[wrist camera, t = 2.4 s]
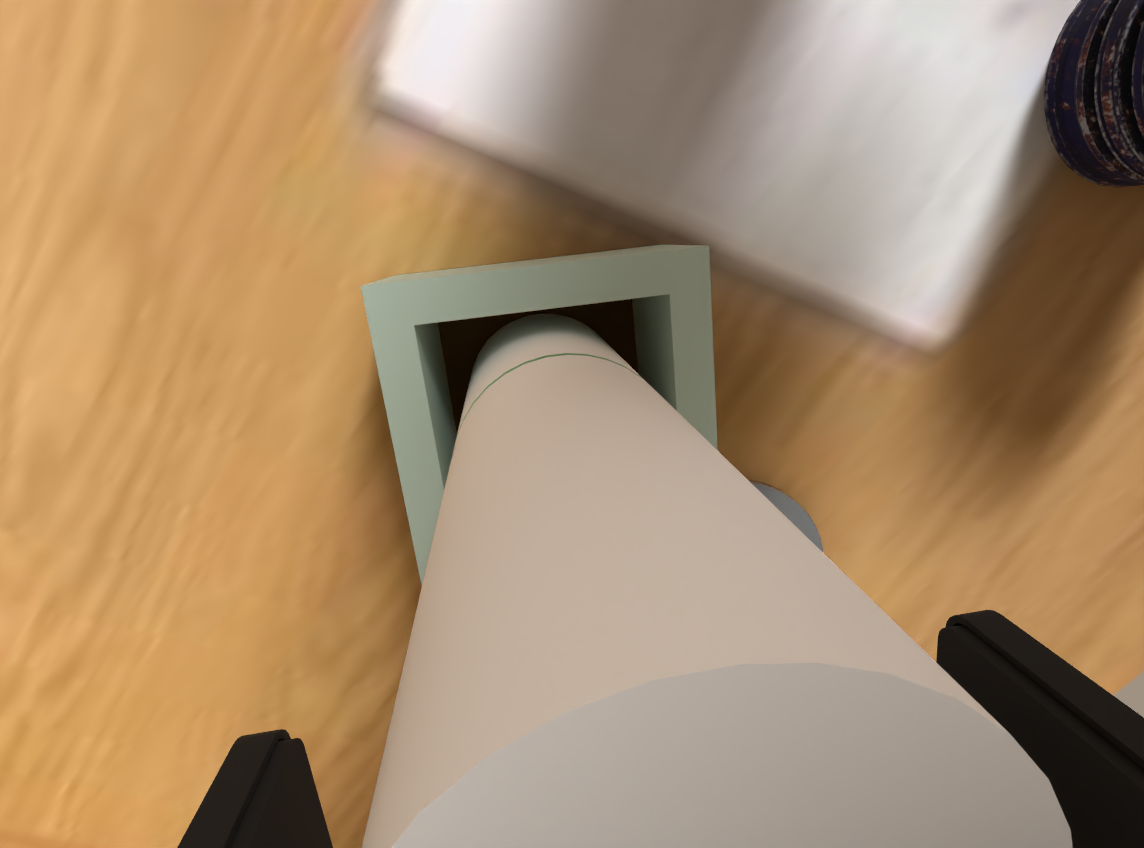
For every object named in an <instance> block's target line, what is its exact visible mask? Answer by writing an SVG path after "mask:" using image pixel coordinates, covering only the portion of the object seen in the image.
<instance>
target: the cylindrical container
mask: <svg viewBox="0 0 1144 848" xmlns="http://www.w3.org/2000/svg"><path fill="white" fill-rule="evenodd" d="M362 848H1073V846H1072V837H1071V830H1070V827H1069V825H1068V823H1067V820H1066V818H1065V816H1064V813H1063V811H1062V809H1061V806H1060V804H1059V802H1058V799H1057V797H1056V795H1055V792H1054V790H1053V788H1052V785H1051V783H1050V781H1049V779H1048V778H1047V776H1046V775H1045V774H1044V773H1043V772H1042V771H1041V769H1040V768H1039V767H1038V766H1037V765H1036V764H1035V762H1034V761H1033V760H1032V759H1031V758H1030V757H1029V755H1028V754H1027V753H1026V752H1025V751H1024V750H1023V748H1022V747H1021V746H1020V745H1019V744H1018V743H1017V741H1016V740H1015V739H1014V738H1013V737H1012V736H1011V734H1010V733H1009V732H1008V731H1007V730H1006V729H1005V728H1004V727H1002V726H1001V725H1000V724H999V723H998V722H997V721H996V720H995V719H994V718H993V717H992V716H991V715H990V714H989V713H988V712H987V711H986V710H985V709H984V708H983V707H982V706H981V705H980V704H979V703H978V702H977V701H976V700H975V699H974V698H973V697H972V696H970V695H969V694H968V693H967V692H966V691H965V690H964V689H963V688H962V687H961V686H960V685H959V684H958V683H957V682H956V681H955V680H954V679H953V678H952V677H951V676H950V675H949V674H948V673H947V672H946V671H945V670H944V669H943V668H942V667H941V666H940V665H938V664H937V663H936V662H935V661H934V660H933V659H932V658H931V657H930V656H929V655H928V654H927V653H926V652H925V651H924V650H923V649H922V648H921V647H920V646H919V645H918V644H917V643H916V642H915V641H914V640H913V639H912V638H911V637H910V636H909V635H907V634H906V633H905V632H904V631H903V630H902V629H901V628H900V627H899V626H898V625H897V624H896V623H895V622H894V621H893V620H892V619H891V618H890V617H889V616H888V615H887V614H886V613H885V612H884V611H883V610H882V609H881V608H880V607H879V606H878V605H877V604H875V603H874V602H873V601H872V600H871V599H870V598H869V597H868V596H867V595H866V594H865V593H864V592H863V591H862V590H861V589H860V588H859V587H858V586H857V585H856V584H855V583H854V582H853V581H852V580H851V579H850V578H849V577H848V576H847V575H846V574H845V573H843V572H842V571H841V570H840V569H839V568H838V567H837V566H836V565H835V564H834V563H833V562H832V561H831V560H830V559H829V558H828V557H827V556H826V555H825V554H824V553H823V552H822V551H821V550H820V549H819V548H818V547H817V546H816V545H815V544H814V543H812V542H811V541H810V540H809V539H808V538H807V537H806V536H805V535H804V534H803V533H802V532H801V531H800V530H799V529H798V528H797V527H796V526H795V525H794V524H793V523H792V522H791V521H790V520H789V519H788V518H787V517H786V516H785V515H784V514H783V513H782V512H780V511H779V510H778V509H777V508H776V507H775V506H774V505H773V504H772V503H771V502H770V501H769V500H768V499H767V498H766V497H765V496H764V495H763V494H762V493H761V492H760V491H759V490H758V489H757V488H756V487H755V486H754V485H753V484H752V483H751V482H750V481H748V480H747V479H746V478H745V477H744V476H743V475H742V474H741V473H740V472H739V471H738V470H737V469H736V468H735V467H734V466H733V465H732V464H731V463H730V462H729V461H728V460H727V459H726V458H725V457H724V456H723V455H722V454H721V453H720V452H719V451H717V450H716V449H715V448H714V447H713V446H712V445H711V444H710V443H709V442H708V441H707V440H706V439H705V438H704V437H703V436H702V435H701V434H700V433H699V432H698V431H697V430H696V429H695V428H694V427H693V426H692V425H691V424H690V423H689V422H688V421H687V420H685V419H684V418H683V417H682V416H681V415H680V414H679V413H678V412H677V411H676V410H675V409H674V408H673V407H672V406H671V405H670V404H669V403H668V402H667V401H666V400H665V399H664V398H663V397H662V396H661V395H660V394H659V393H658V392H657V391H655V390H654V389H653V388H652V387H651V386H650V385H649V384H648V383H647V382H646V381H645V380H644V379H643V378H642V377H641V376H640V375H639V374H638V373H637V372H636V371H635V370H634V369H633V368H632V367H631V366H630V365H629V364H628V363H627V362H626V361H625V360H624V359H623V358H621V357H620V356H619V355H618V354H617V353H616V352H615V351H614V350H613V349H612V348H611V347H610V346H609V345H608V344H607V343H606V342H605V341H604V340H603V339H602V338H601V337H600V336H599V335H598V334H597V333H596V332H595V331H593V330H592V329H590V328H589V327H588V326H586V325H585V324H584V323H581V322H579V321H577V320H575V319H573V318H570V317H566V316H562V315H558V314H544V313H542V314H535V315H528V316H525V317H522V318H519V319H517V320H514V321H512V322H510V323H508V324H507V325H505V326H504V327H502V328H500V329H499V330H498V331H497V332H496V333H495V334H494V335H492V336H491V337H490V338H489V339H488V340H487V342H486V343H485V345H484V346H483V348H482V349H481V350H480V352H479V354H478V356H477V359H476V361H475V363H474V366H473V369H472V374H471V378H470V382H469V386H468V391H467V395H466V399H465V403H464V408H463V412H462V416H461V420H460V425H459V429H458V433H457V437H456V442H455V446H454V450H453V454H452V459H451V463H450V467H449V472H448V476H447V480H446V485H445V489H444V493H443V498H442V502H441V506H440V511H439V515H438V519H437V524H436V528H435V532H434V537H433V541H432V545H431V550H430V554H429V558H428V563H427V567H426V571H425V576H424V580H423V584H422V588H421V593H420V597H419V601H418V606H417V610H416V614H415V619H414V623H413V627H412V632H411V636H410V640H409V645H408V649H407V653H406V658H405V662H404V666H403V671H402V675H401V679H400V684H399V688H398V692H397V697H396V701H395V705H394V710H393V714H392V718H391V723H390V727H389V731H388V736H387V740H386V744H385V749H384V753H383V757H382V762H381V766H380V770H379V775H378V779H377V783H376V788H375V792H374V796H373V800H372V805H371V809H370V813H369V818H368V822H367V826H366V831H365V835H364V839H363V844H362Z"/></svg>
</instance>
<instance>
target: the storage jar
mask: <svg viewBox="0 0 1144 848" xmlns="http://www.w3.org/2000/svg"><path fill="white" fill-rule="evenodd" d="M1044 96H1045V115H1046V121H1047V127H1048V130H1049V133H1050V136H1051V140H1052V142H1053V144H1054V146H1055V148H1056V150H1057V152H1058V154H1059V155H1060V157H1061V158H1062V159H1063V160H1064V162H1065V163H1066V164H1067V166H1068V167H1070V168H1071V169H1072V170H1073V171H1074V172H1075V173H1077V174H1078V175H1079V176H1081V177H1083V178H1085V179H1086V180H1088V181H1090V182H1093V183H1096V184H1100V185H1103V186H1112V187H1124V186H1135V185H1144V0H1081V1H1080V2H1079V3H1078V5H1077V6H1076V7H1075V9H1074V10H1073V12H1072V13H1071V15H1070V16H1069V17H1068V19H1067V21H1066V23H1065V25H1064V27H1063V29H1062V30H1061V32H1060V34H1059V36H1058V39H1057V41H1056V44H1055V47H1054V49H1053V52H1052V54H1051V58H1050V62H1049V66H1048V70H1047V75H1046V83H1045V91H1044Z"/></svg>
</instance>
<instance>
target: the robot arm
mask: <svg viewBox="0 0 1144 848" xmlns="http://www.w3.org/2000/svg"><path fill="white" fill-rule="evenodd" d="M936 663H937V664H938V665H940V666H941V667H942V668H943V669H944V670H945V671H946V672H947V673H948V674H949V675H950V676H951V677H952V678H953V679H954V680H955V681H956V682H957V683H958V684H959V685H960V686H961V687H962V688H963V689H964V690H965V691H966V692H967V693H968V694H969V695H970V696H972V697H973V698H974V699H975V700H976V701H977V702H978V703H979V704H980V705H981V706H982V707H983V708H984V709H985V710H986V711H987V712H988V713H989V714H990V715H991V716H992V717H993V718H994V719H995V720H996V721H997V722H998V723H999V724H1000V725H1001V726H1002V727H1004V728H1005V729H1006V730H1007V731H1008V732H1009V733H1010V734H1011V736H1012V737H1013V738H1014V739H1015V740H1016V741H1017V743H1018V744H1019V745H1020V746H1021V747H1022V748H1023V750H1024V751H1025V752H1026V753H1027V754H1028V755H1029V757H1030V758H1031V759H1032V760H1033V761H1034V762H1035V764H1036V765H1037V766H1038V767H1039V768H1040V769H1041V771H1042V772H1043V773H1044V774H1045V775H1046V776H1047V778H1048V779H1049V781H1050V783H1051V785H1052V788H1053V790H1054V792H1055V795H1056V797H1057V799H1058V802H1059V804H1060V806H1061V809H1062V811H1063V813H1064V816H1065V818H1066V820H1067V823H1068V825H1069V827H1070V830H1071V837H1072V846H1073V848H1144V718H1143V717H1142V716H1140V715H1139V714H1138V713H1136V712H1135V711H1134V710H1132V709H1131V708H1129V707H1128V706H1127V705H1125V704H1124V703H1122V702H1121V701H1120V700H1118V699H1117V698H1116V697H1114V696H1113V695H1111V694H1110V693H1109V692H1107V691H1106V690H1105V689H1103V688H1102V687H1100V686H1099V685H1098V684H1096V683H1095V682H1094V681H1092V680H1091V679H1089V678H1088V677H1087V676H1085V675H1084V674H1082V673H1081V672H1080V671H1078V670H1077V669H1076V668H1074V667H1073V666H1071V665H1070V664H1069V663H1067V662H1066V661H1065V660H1063V659H1062V658H1060V657H1059V656H1058V655H1056V654H1055V653H1053V652H1052V651H1051V650H1049V649H1048V648H1047V647H1045V646H1044V645H1042V644H1041V643H1040V642H1038V641H1037V640H1036V639H1034V638H1033V637H1031V636H1030V635H1029V634H1027V633H1026V632H1025V631H1023V630H1022V629H1020V628H1019V627H1018V626H1016V625H1015V624H1013V623H1012V622H1011V621H1009V620H1008V619H1007V618H1005V617H1004V616H1002V615H1001V614H999V613H997V612H995V611H992V610H984V611H978V612H972V613H966V614H960V615H955V616H952V617H950V618H949V619H948V621H947V623H946V628H943V629H941V630H940V632H939V635H938V646H937V662H936ZM178 848H333V847H332V843H331V839H330V836H329V832H328V829H327V825H326V822H325V818H324V815H323V811H322V807H321V804H320V800H319V797H318V793H317V790H316V786H315V783H314V779H313V775H312V772H311V768H310V765H309V761H308V758H307V754H306V751H305V747H304V744H303V742H302V740H301V739H300V738H295V739H291V738H290V736H289V733H288V732H287V731H286V730H283V729H281V730H275V731H269V732H263V733H257V734H251V735H245V736H241V737H240V738H238V739H237V740H236V741H235V743H234V744H233V746H232V748H231V749H230V751H229V753H228V755H227V757H226V759H225V761H224V762H223V764H222V766H221V768H220V770H219V772H218V773H217V775H216V777H215V779H214V781H213V783H212V785H211V786H210V788H209V790H208V792H207V794H206V796H205V798H204V799H203V801H202V803H201V805H200V807H199V809H198V811H197V812H196V814H195V816H194V818H193V820H192V822H191V823H190V825H189V827H188V829H187V831H186V833H185V835H184V836H183V838H182V840H181V842H180V844H179V846H178Z"/></svg>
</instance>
